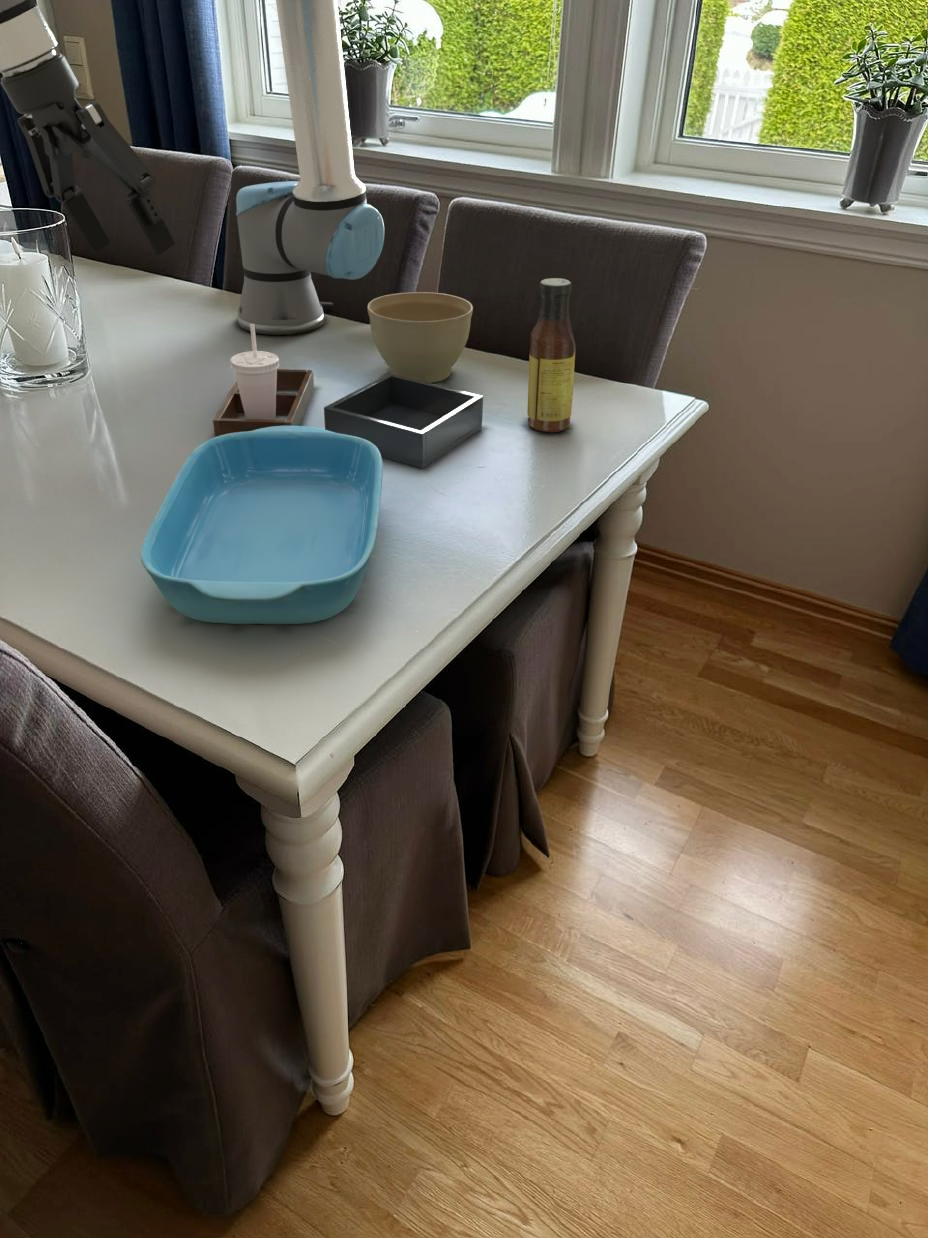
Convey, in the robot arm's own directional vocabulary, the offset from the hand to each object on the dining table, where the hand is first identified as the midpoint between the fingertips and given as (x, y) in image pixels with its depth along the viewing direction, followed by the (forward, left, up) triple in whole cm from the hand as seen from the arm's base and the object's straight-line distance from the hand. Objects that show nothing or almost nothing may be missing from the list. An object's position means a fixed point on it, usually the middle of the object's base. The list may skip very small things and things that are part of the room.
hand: (132, 248), depth 113 cm
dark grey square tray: (-15, +31, -23) cm, 41 cm away
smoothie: (-6, +13, -23) cm, 27 cm away
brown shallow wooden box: (-10, +10, -23) cm, 27 cm away
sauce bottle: (-29, +46, -23) cm, 59 cm away
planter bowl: (-36, +20, -23) cm, 47 cm away
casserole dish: (+19, +37, -23) cm, 47 cm away
